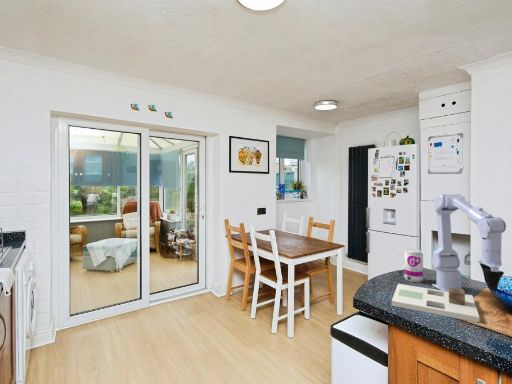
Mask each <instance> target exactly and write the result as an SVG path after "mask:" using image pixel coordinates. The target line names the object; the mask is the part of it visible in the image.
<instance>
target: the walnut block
mask: <svg viewBox="0 0 512 384" xmlns="http://www.w3.org/2000/svg"><path fill="white" fill-rule="evenodd" d="M448 292H449V303H452V304H457V305H463V306H465V290H464V289H463V290H460V289H454V288H449V291H448Z"/></svg>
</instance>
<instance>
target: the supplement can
mask: <svg viewBox="0 0 512 384" xmlns="http://www.w3.org/2000/svg"><path fill="white" fill-rule="evenodd" d="M403 262H404V263H403V264H404V265H403V266H404V268H403V270H404V271H403V272H404V274H403V275H404V279H405V281H407V282H410V283H421V282H422V281H423V280H424V254H423V253H422V250H419V249H413V248H410V249H409V248H408V249H405V251H404V261H403Z"/></svg>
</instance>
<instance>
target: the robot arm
mask: <svg viewBox="0 0 512 384" xmlns="http://www.w3.org/2000/svg"><path fill="white" fill-rule="evenodd" d="M458 210H460V211H462V212H464V213H465V214H466V217H467V219H469V220H470V221H471V222H473V223H474V224H475V225H477V229H478V231H479V236H480V238H481V257H480V258H481V259H477V263H479V266H480V267H481V269H482V273H483V278H484V282H485V284H487V285H488V288H489V289H490V290H495V291H496V290H498V286H499V283H500V280H501V278H502V276H503V275H504V274H505V272H504V271H502V270H500V267H501V266H502V265H503V263H502V235H503V233H504V232H505V231H506V230H507V224H506V221H505V220H504V219H503V218H502V217H500V216H497V217H495V216H493V215H492V214H490V213H488V212H487V211H485V210H484V209H483V208H482V207H479V206H478V207H474V206H473V205H472V204H471V203H469V202H468V201H467V200H466V199H465V196H464V195H462V194H460V193H457V194H456V193H455V194H452V193H451V194H442V193H439V194H437V195H436V197H435V198H434V212H435V213H436V223H437V224H436V225H437V238H438V242H437V243H438V248H437V249H435V250H434V251H432V258H431V263H432V265H433V267H434V268H435V269H436V283H432V284H431V285H432V286H433V287H435V288H437V290H441V291H447V292H449V288H454V289H460V290H464V289H463V288H462V284H463V283H462V277H463V276H462V273H461V271H460V270H459V267H460V265H461V261H460V258H459V254H458V251H456V250H454V249H453V243H452V242H453V240H452V225H451V223H452V222H451V215H452V213H454V212H456V211H458Z"/></svg>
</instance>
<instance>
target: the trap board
mask: <svg viewBox="0 0 512 384" xmlns="http://www.w3.org/2000/svg"><path fill="white" fill-rule="evenodd" d="M391 306H392V307H396V308H397V307H398V308H402V309H407V310H412V311H415V312H422V313H427V314H431V315H438V316H443V317H448V318H453V319H457V320H462V321H467V322H472V323H477V322H479V323H480V315H479V312H478V309H477V305H476V303H475V299H474V297H473V295H472V294H465V306H463V305H457V304H452V303H449V291H442V290H440V289H433V288H427V287H421V286H415V285H409V284H404V283H403V284H402V283H397V285H396V289H395V290H394V293H393V296H392V299H391Z"/></svg>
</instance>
